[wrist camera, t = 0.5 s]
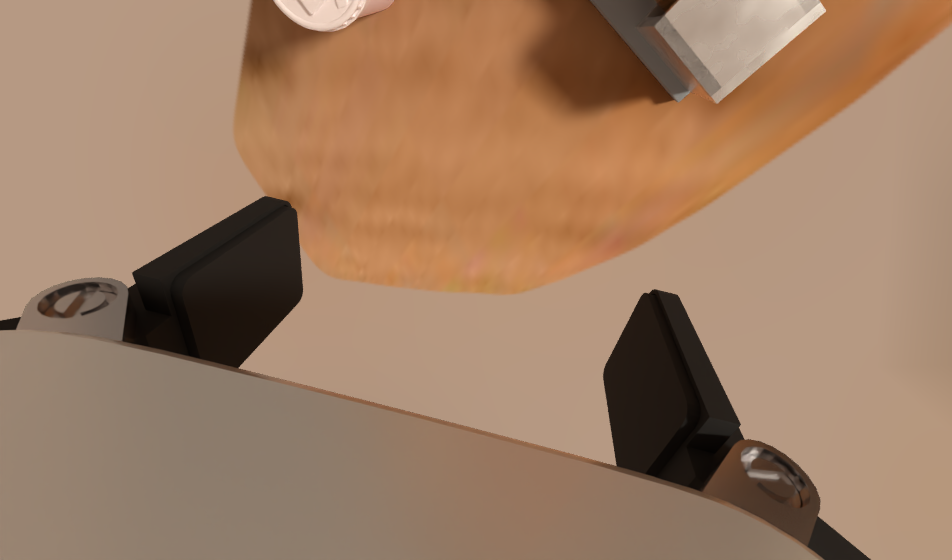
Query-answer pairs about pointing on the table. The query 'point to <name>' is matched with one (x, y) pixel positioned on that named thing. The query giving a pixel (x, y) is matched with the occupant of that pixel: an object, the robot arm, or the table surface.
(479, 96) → the table surface
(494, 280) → the table surface
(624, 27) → the board
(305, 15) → the smoothie
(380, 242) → the table surface
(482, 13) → the table surface
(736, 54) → the sleeve
